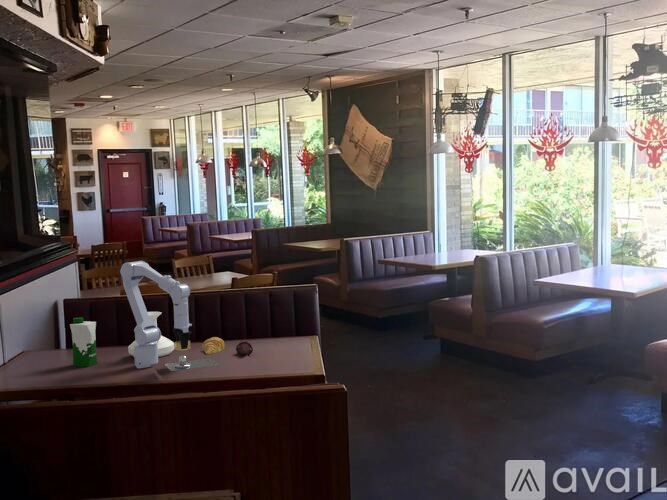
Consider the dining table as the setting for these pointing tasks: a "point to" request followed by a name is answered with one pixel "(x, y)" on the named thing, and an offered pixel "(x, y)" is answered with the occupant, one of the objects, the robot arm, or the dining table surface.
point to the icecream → (244, 348)
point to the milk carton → (83, 342)
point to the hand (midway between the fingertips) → (182, 347)
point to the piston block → (190, 364)
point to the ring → (178, 346)
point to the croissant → (213, 345)
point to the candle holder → (163, 343)
